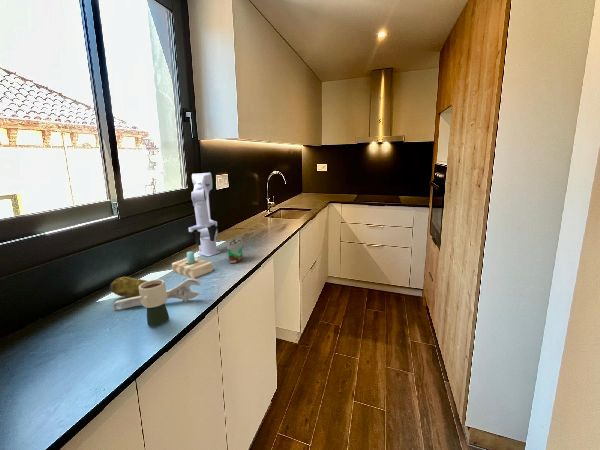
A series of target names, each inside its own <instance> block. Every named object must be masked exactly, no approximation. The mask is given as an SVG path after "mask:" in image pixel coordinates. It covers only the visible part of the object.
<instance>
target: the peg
mask: <svg viewBox="0 0 600 450" xmlns="http://www.w3.org/2000/svg"><path fill="white" fill-rule="evenodd" d="M186 257H187V259H188V265H192V264H195V258H196V257H195V253H194V251H187V252H186Z"/></svg>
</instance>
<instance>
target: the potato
mask: <svg viewBox="0 0 600 450" xmlns="http://www.w3.org/2000/svg"><path fill="white" fill-rule="evenodd" d="M147 281H148V280H146V279H145V280H144V279H139V278H134V277H129V276H122V277H121V276H119V277H118V278H114V280H113V281H112V282H111V283H110V286H109V288H110V291H111V292H112V293H113V294H115V295H117V296H120V297H126V298H132V297H137V296H140V294H139V285H141V284H142V283H144V282H147Z"/></svg>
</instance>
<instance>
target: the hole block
mask: <svg viewBox="0 0 600 450" xmlns="http://www.w3.org/2000/svg"><path fill="white" fill-rule="evenodd" d="M194 258H195V264H192V265H188V259H187V258H184V259H180V260H177V261H174V262H172V263H171V267H172V272H174V273H176V274H180V275H182V276H185V277H188V278H194V279H197V278H198V277H201V276H203V275H206V274H208V273H210V272H213V271H214V270H213V263H212V261H208V260H204V259H201V258H199V257H198V258H197V257H194Z"/></svg>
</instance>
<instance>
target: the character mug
mask: <svg viewBox="0 0 600 450" xmlns="http://www.w3.org/2000/svg"><path fill="white" fill-rule="evenodd" d="M146 281H147V282H144V283H142V284H141V285H139V294H140V296H141V298H142V302H141V303H142V306H143V307H144V308H146V323H147V324H146V325H148V326H149V327H153V326H159V325H162V324H164V323H167V322H168V321H169V320H170V316H169V315H170V314H169V313H168V312H169V311H168V309H167V307H166V304H165V303H167V301H168V299H167V293H166V290H167V289H166V288H167V287H166V282H165V280H164V279H151V280H146Z"/></svg>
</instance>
